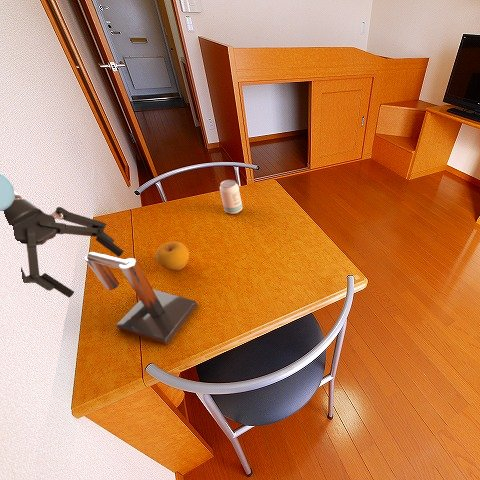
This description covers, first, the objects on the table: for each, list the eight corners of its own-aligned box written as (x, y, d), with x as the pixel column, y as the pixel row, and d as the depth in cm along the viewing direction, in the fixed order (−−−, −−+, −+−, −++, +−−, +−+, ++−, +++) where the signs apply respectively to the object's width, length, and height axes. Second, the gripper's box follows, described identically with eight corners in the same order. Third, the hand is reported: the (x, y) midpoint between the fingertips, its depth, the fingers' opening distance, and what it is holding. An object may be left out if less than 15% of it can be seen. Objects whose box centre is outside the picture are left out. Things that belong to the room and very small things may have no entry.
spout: (166, 308, 71) (139, 259, 59) (157, 318, 68) (127, 269, 57) (124, 296, 73) (90, 246, 62) (115, 305, 71) (77, 256, 59)
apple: (155, 274, 82) (143, 252, 76) (174, 254, 89) (164, 233, 83) (182, 280, 81) (172, 258, 75) (199, 259, 88) (191, 238, 82)
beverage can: (229, 204, 112) (223, 177, 104) (245, 206, 111) (241, 180, 103) (221, 214, 107) (215, 186, 99) (238, 216, 106) (232, 189, 98)
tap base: (197, 305, 75) (195, 300, 73) (167, 345, 66) (164, 340, 64) (153, 293, 77) (151, 288, 76) (119, 329, 68) (115, 325, 67)
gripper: (60, 189, 70) (133, 245, 77) (-69, 254, 51) (44, 320, 58) (64, 173, 65) (142, 234, 72) (-75, 238, 47) (48, 311, 54)
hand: (98, 273), depth 65 cm, fingers open, 13 cm apart
